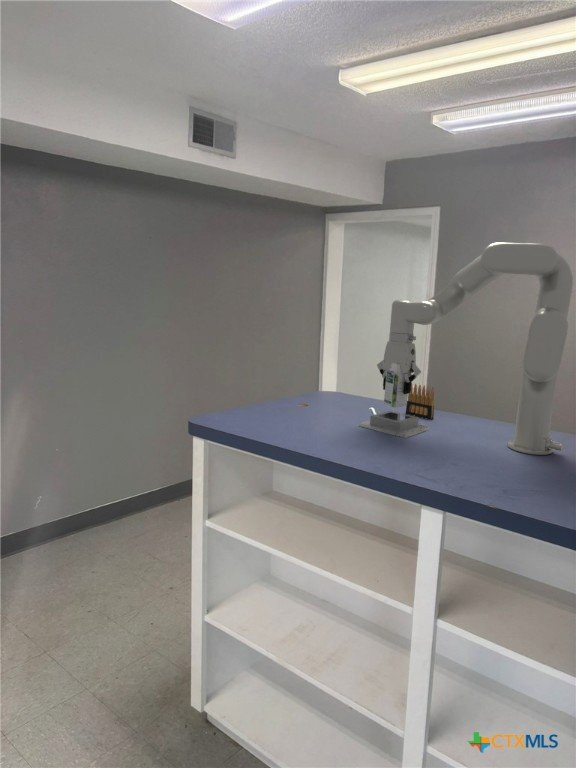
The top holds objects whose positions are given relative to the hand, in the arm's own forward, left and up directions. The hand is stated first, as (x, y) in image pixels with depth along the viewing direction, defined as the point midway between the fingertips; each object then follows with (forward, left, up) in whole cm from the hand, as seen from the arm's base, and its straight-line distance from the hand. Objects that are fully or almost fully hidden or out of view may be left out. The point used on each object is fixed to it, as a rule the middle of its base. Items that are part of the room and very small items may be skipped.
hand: (396, 391), depth 177 cm
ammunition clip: (+3, -22, -13) cm, 26 cm away
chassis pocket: (0, 0, -13) cm, 13 cm away
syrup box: (0, 0, -5) cm, 5 cm away
